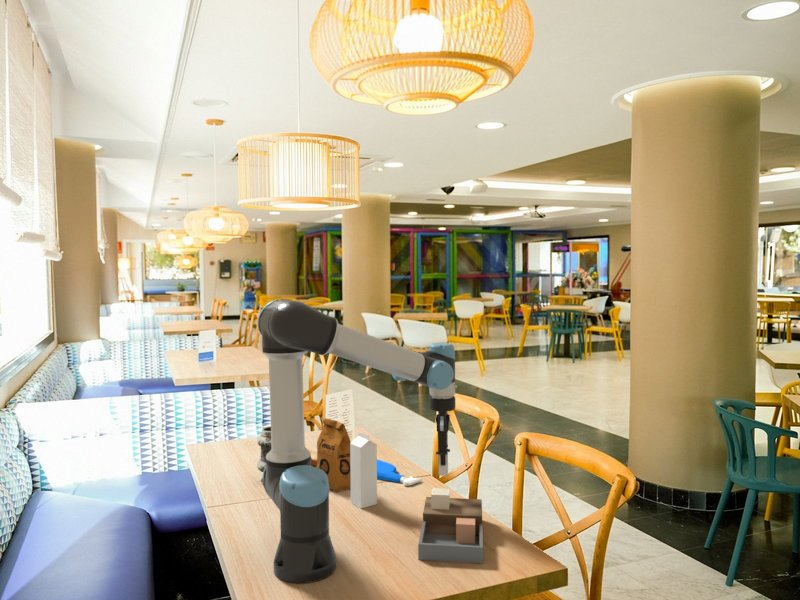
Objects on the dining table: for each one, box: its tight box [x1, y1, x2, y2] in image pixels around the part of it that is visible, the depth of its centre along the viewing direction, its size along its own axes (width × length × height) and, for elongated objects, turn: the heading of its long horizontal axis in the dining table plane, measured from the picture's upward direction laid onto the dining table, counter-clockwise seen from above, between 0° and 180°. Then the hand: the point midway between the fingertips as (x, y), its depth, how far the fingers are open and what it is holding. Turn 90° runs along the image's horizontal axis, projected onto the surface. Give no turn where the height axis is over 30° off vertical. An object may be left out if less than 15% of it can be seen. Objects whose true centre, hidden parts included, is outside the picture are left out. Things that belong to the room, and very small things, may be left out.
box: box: [417, 520, 484, 564], centre depth 157 cm, size 14×16×4 cm
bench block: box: [422, 496, 483, 536], centre depth 170 cm, size 12×16×6 cm
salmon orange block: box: [456, 518, 475, 544], centre depth 161 cm, size 5×5×4 cm
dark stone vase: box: [256, 425, 272, 484], centre depth 207 cm, size 12×12×18 cm
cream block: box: [430, 487, 451, 510], centre depth 170 cm, size 5×5×4 cm
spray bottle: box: [377, 459, 423, 487], centre depth 211 cm, size 3×11×24 cm
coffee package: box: [316, 417, 352, 492], centre depth 202 cm, size 10×12×22 cm
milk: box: [350, 431, 378, 509], centre depth 186 cm, size 6×6×22 cm
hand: (443, 474), depth 179 cm, fingers closed
